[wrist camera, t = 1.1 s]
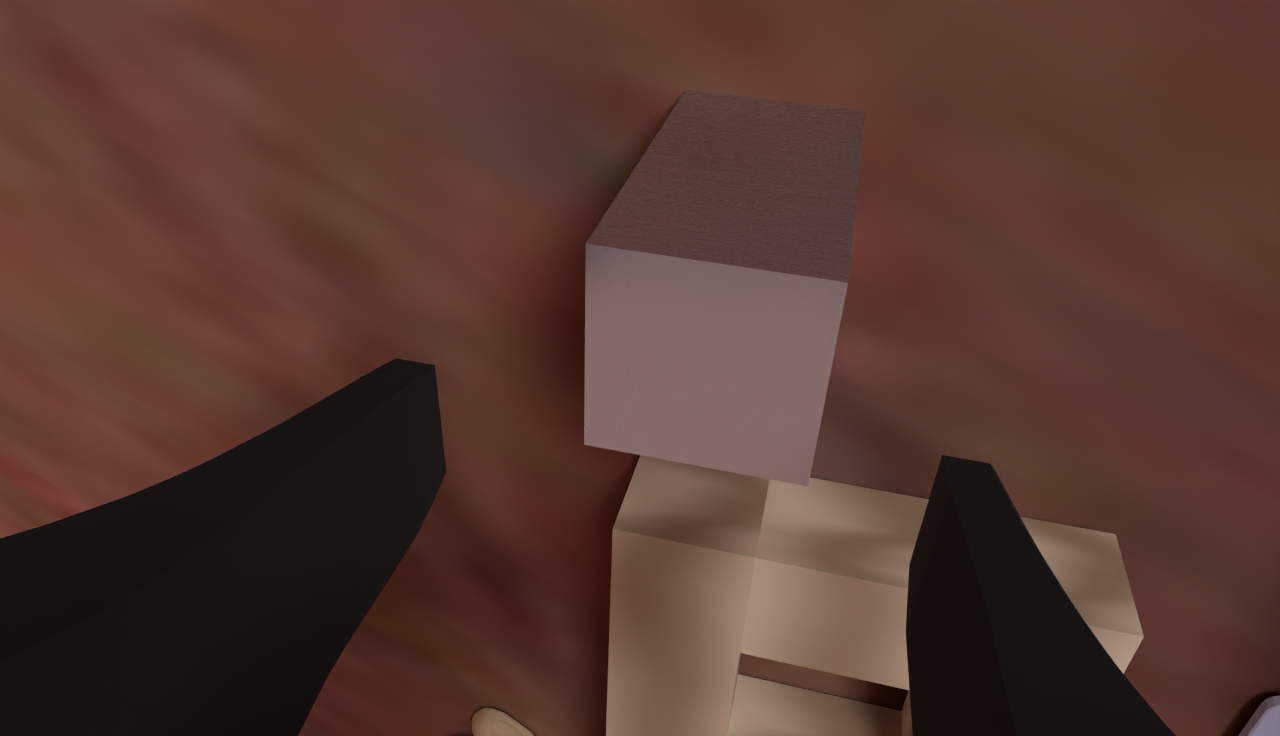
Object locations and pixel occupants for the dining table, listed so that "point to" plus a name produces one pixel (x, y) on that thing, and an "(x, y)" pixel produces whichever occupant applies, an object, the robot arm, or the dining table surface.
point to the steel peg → (723, 286)
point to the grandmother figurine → (496, 724)
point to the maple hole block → (790, 600)
